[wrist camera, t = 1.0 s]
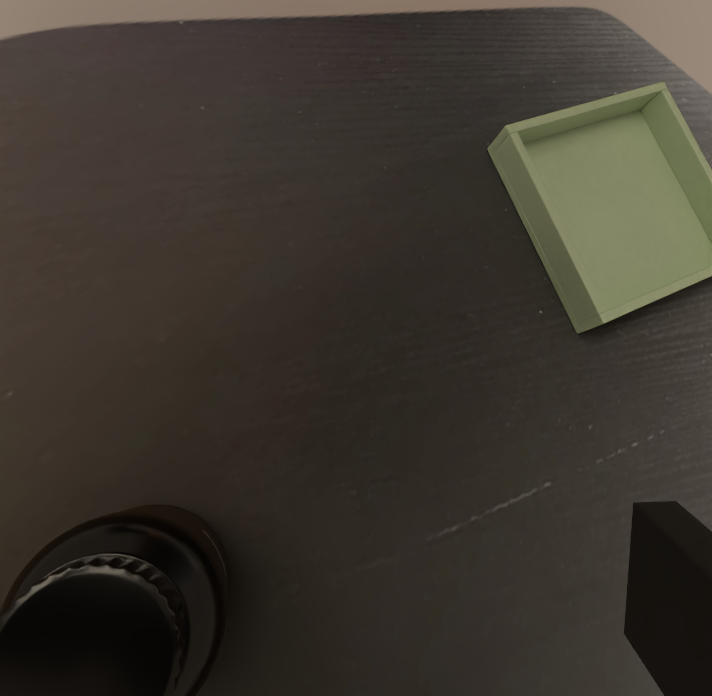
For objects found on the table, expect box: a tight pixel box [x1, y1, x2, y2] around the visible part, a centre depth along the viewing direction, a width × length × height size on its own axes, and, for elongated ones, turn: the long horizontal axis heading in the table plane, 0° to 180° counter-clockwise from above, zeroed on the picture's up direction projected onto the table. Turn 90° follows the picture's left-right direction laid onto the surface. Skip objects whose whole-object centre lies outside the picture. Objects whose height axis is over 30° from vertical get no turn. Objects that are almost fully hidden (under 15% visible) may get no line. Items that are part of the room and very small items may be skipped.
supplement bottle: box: [0, 505, 228, 696], centre depth 19 cm, size 7×7×12 cm
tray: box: [487, 82, 712, 334], centre depth 34 cm, size 13×13×2 cm
